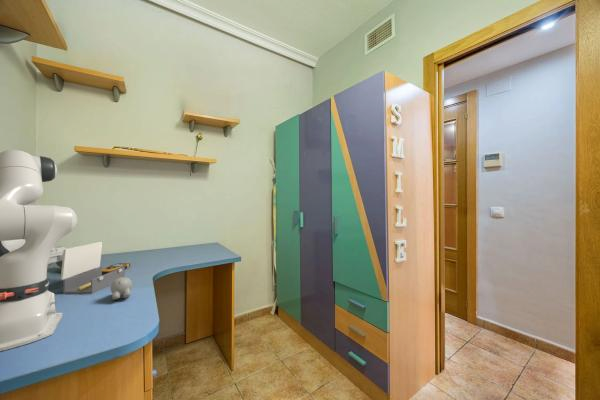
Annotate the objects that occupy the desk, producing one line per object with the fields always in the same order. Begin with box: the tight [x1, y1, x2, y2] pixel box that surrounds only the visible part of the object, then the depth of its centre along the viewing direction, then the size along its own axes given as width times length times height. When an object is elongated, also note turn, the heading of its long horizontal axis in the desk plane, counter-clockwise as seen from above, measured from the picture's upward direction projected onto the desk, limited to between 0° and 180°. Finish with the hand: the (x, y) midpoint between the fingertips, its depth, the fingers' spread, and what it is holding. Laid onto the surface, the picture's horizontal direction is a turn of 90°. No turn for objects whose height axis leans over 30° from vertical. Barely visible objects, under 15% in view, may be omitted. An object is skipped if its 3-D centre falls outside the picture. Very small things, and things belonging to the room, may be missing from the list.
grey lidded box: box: [62, 266, 126, 295], centre depth 111 cm, size 20×13×6 cm, turn 3°
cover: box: [60, 241, 103, 281], centre depth 111 cm, size 20×13×1 cm
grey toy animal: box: [109, 276, 133, 301], centre depth 98 cm, size 7×12×8 cm, turn 36°
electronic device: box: [102, 262, 131, 275], centre depth 133 cm, size 8×16×3 cm, turn 0°
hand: (74, 256), depth 110 cm, fingers closed
